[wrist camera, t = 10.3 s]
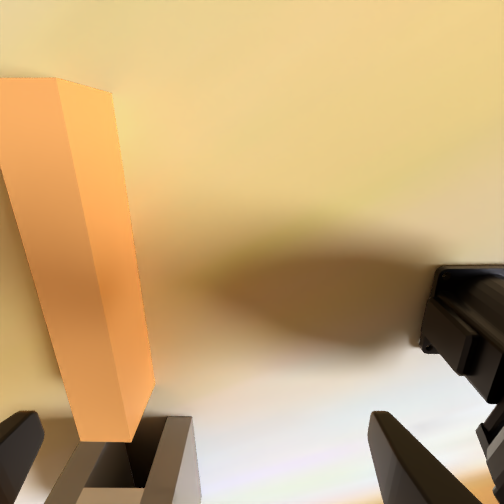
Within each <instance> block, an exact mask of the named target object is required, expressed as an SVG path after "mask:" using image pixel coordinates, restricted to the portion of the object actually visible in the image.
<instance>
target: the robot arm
mask: <svg viewBox="0 0 504 504" xmlns="http://www.w3.org/2000/svg"><path fill="white" fill-rule="evenodd" d="M446 272H447V274H446V276H444V277H442V276H443V274H444V273H446ZM421 332H422V334H421V339H420V343H419V347H420V348H421V350H422V351H423V352H424V353H426V354H440V355H441V356H442V357H443V358H444V359H445V361H446V362H447V363H448V364H449V365H450V367H451V368H452V369H453V370H454V371H455V372H456V373H457V374H458V375H459V376H465V377H466V378H467V380H468V381H469V382H470V383H471V384H472V385H473V387H474V388H475V389H476V390H477V391H478V392H479V394H480V395H481V396H482V397H483V398H484V399H485V401H486V402H487V403H488V404H497V405H496V407H495V408H494V409H493V411H492V412H491V414H490V415H489V416H488V418H487V419H486V421H485V422H484V423H481V424H480V425H479V426H478V428H477V429H476V434H477V436H478V439H479V441H480V444H481V447H482V449H483V452H484V454H485V457H486V459H487V460H486V463H487V465H488V468H489V471H490V474H491V476H492V479H493V482H494V484H495V487H494V488H493V494H494V496H495V498H496V500H497V501H498V503H499V504H504V266H443V267H440V268H438V269H437V270H436V272H435V276H434V280H433V285H432V289H431V294H430V298H429V299H428V301H427V305H426V310H425V314H424V319H423V323H422V328H421ZM428 345H429V346H428ZM426 346H428V347H426ZM43 439H44V429H43V426H42V424H41V421H40V418H39V416H38V413H37V412H36V411H19V412H17V413H15V414H13V415H12V416H10V417H9V418H7V419H6V420H4V421H3V422H1V423H0V504H14V502H15V500H16V498H17V496H18V494H19V492H20V489H21V487H22V485H23V483H24V481H25V479H26V477H27V474H28V472H29V470H30V468H31V466H32V464H33V462H34V460H35V457H36V455H37V453H38V451H39V449H40V447H41V445H42V442H43ZM368 443H369V447H370V451H371V455H372V459H373V463H374V467H375V471H376V475H377V479H378V483H379V487H380V491H381V495H382V499H383V503H384V504H482V503H481V502H480V501H479V500H478V499H477V498H476V497H475V496H474V495H473V494H472V493H471V492H470V491H469V490H468V489H467V488H466V487H465V486H464V485H463V484H462V483H461V482H460V481H459V480H458V479H457V478H456V477H455V476H454V475H453V474H452V473H451V472H450V471H449V470H448V469H446V468H445V467H444V466H443V465H442V464H441V463H440V462H439V461H438V460H437V459H436V458H435V457H434V456H433V455H432V454H431V453H430V452H429V451H428V450H427V449H426V448H425V447H424V446H423V445H422V444H421V443H420V442H419V441H418V440H417V439H416V438H415V437H414V436H413V435H412V434H411V433H410V432H409V431H408V430H407V429H406V428H405V427H404V426H403V425H402V424H401V423H400V422H399V421H398V420H397V419H396V418H394V417H393V416H392V415H391V414H390V413H389V412H387V411H373V412H372V413H371V416H370V422H369V428H368Z"/></svg>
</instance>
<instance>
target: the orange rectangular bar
mask: <svg viewBox="0 0 504 504" xmlns="http://www.w3.org/2000/svg"><path fill="white" fill-rule="evenodd" d="M0 167H1V171H2V174H3V178H4V181H5V185H6V188H7V191H8V195H9V198H10V202H11V205H12V208H13V212H14V215H15V219H16V222H17V226H18V229H19V232H20V236H21V239H22V243H23V246H24V249H25V253H26V256H27V260H28V263H29V267H30V270H31V273H32V277H33V280H34V284H35V287H36V291H37V294H38V297H39V301H40V304H41V308H42V311H43V314H44V318H45V321H46V325H47V328H48V332H49V335H50V338H51V342H52V345H53V349H54V352H55V356H56V359H57V362H58V366H59V369H60V373H61V376H62V379H63V383H64V386H65V390H66V393H67V397H68V400H69V403H70V407H71V410H72V414H73V417H74V421H75V424H76V427H77V431H78V434H79V438H80V441H87V442H132V439H133V437H134V434H135V432H136V429H137V427H138V425H139V422H140V420H141V417H142V415H143V412H144V410H145V408H146V405H147V403H148V400H149V398H150V396H151V393H152V391H153V388H154V386H155V379H154V373H153V366H152V359H151V353H150V346H149V339H148V333H147V326H146V319H145V313H144V306H143V299H142V293H141V286H140V279H139V273H138V266H137V259H136V253H135V246H134V239H133V233H132V226H131V219H130V213H129V206H128V199H127V193H126V186H125V179H124V173H123V166H122V159H121V153H120V146H119V139H118V133H117V126H116V119H115V113H114V106H113V99H112V93H109V92H105V91H102V90H98V89H94V88H91V87H87V86H84V85H80V84H77V83H73V82H69V81H66V80H62V79H59V78H0Z"/></svg>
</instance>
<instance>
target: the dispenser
mask: <svg viewBox="0 0 504 504" xmlns="http://www.w3.org/2000/svg"><path fill="white" fill-rule="evenodd" d="M201 497H202V496H201V488H200V479H199V471H198V463H197V454H196V446H195V437H194V429H193V421H192V417H167V420H166V423H165V426H164V429H163V432H162V436H161V439H160V442H159V445H158V448H157V451H156V454H155V458H154V461H153V464H152V467H151V470H150V473H149V476H148V479H147V483H146V486H145V488H135V483H134V479H133V475H132V471H131V467H130V462H129V458H128V454H127V450H126V446H125V442H87V441H80V442H79V444H78V446H77V447H76V449H75V451H74V453H73V454H72V456H71V458H70V459H69V461H68V463H67V465H66V466H65V468H64V470H63V472H62V473H61V475H60V477H59V478H58V480H57V482H56V484H55V485H54V487H53V489H52V491H51V492H50V494H49V496H48V497H47V499H46V501H45V503H44V504H200V503H201Z"/></svg>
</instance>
